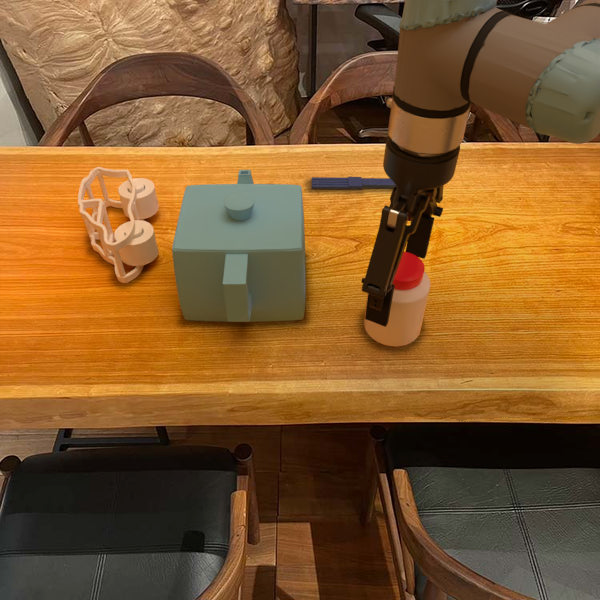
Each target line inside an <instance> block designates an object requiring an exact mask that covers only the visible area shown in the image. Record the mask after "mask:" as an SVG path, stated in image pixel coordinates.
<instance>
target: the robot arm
mask: <svg viewBox="0 0 600 600" xmlns="http://www.w3.org/2000/svg"><path fill="white" fill-rule="evenodd" d="M497 1H498V0H405V1H404V6H403V12H402V16H401V20H400V21H399V24H398V25H399V26H398V28H399V37H398V46H397V59H396V69H395V77H394V86H392V87H393V88H392V89H393V91H392V96H391V97H389V98H388V99H387V101H386V107H387V108H389V109H390V112H389V113H390V114H389V120H388V127H387V133H388V135H387V136H386V140H385V146H384V154H383V155H384V156H383V162H382V168H383V170H384V173H385V175H386V176H387V178H390V179H391V180H392V181H393V182H394V183H395V184H396V186H397V187H396V186H395V187H394V188H392V191H391V194H390V196H389V201H390V203H389V205H384V206H383V208H382V209H381V215H380V220H379V227H378V230H377V234H376V237H375V241H374V244H373V248H372V251H371V255H370V259H369V262H368V266H367V269H366V273H365V277H362V278H361V292H363V293H366V294H367V293H368V300H367V299H366V302H367V308H366V307H365V310H366V315H365V314H364V319H366V320H369V321H372V322H374V323H377V324H379V325H382V326H384V327H386V326H387V324H388V320H389V315H390V309H391V303H392V298H393V292H394V286H395V285H394V284H392V283H393V280H394V278H395V275H396V272H397V269H398V266H399V264H400V261H401V258H402V255H403V252H408V253H411V254H414V255H416V256H417V257H419V258H420V259H421V260H422V259H423V260H425V259H426V257H427V254H428V250H429V249H428V248H429V244H430V240H431V236H432V231H433V227H434V222H435V217H438V218H440V217H442V214H443V211H444V207H441V206H438V204H441V202H442V201H443V199H444V186H445V185H447V184H448V183H450V182H451V180H452V179H453V177H454V176H455V173H456V169H457V164H458V160H459V155H460V152H461V145H462V143H463V141H464V138H465V134H466V133H465V132H466V128H467V124H468V120H469V115H470V111H471V106H472V105H475V106H477V107H480V108H483V109H485V110H487V111H489V112H491V113H493V114H495V115H499V116H500V117H503V118H505V119H507V120H510V121H512V122H514V123H515V124H516V123H517V124H519V125H521V126H523V127H526V128H527V129H529V130H532V131H533V132H534V133H536V134H538V135H539V134H540V135H541V136H542V135H545V136H548V137H549V136H550V137H553V138H556V139H559V140H562V141H565V142H568V143H571V144H576V145H583V144H586V143H588V142H590V141H592V140H593V139H595V138H596V137H598V135H600V0H584V1H582V2H581V3H579V4H578V5H575V6H574V7H572V8H570V9H569V10H567V11H566V12H564V13H562V14H560V15H558V16H557V17H555V18H553V19H552V20H550V21H548V22H547V23H544V22H539V21H536V20H533V19H532V20H531V19H528V18H524V17H521V16H518V15H515V14H513V13H511V12H508V11H505V10H502V9H500V8H498V7H497V5H498V4H497ZM471 104H472V105H471ZM408 222H410V225H409V224H408ZM407 224H408V225H407Z"/></svg>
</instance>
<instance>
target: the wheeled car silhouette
mask: <svg viewBox="0 0 600 600" xmlns="http://www.w3.org/2000/svg"><path fill="white" fill-rule="evenodd" d="M104 177H108V178H115V179H121V178H122V179H123V178H127V180H125V181H123V182H122V183H121V184H120V185H119V187H118V189H117V192H118V195H119V200H117V199H116V200H115V199H112V198H110V197H109V192H108V190H107V186H106V183H105V180H104V179H105V178H104ZM95 178H97V180H98V183H99V186H100V191H101V194H102V197H103V199H102V198H95V197H94V192H93V189H92V187H91V184H92V183H94V181H95ZM85 194H87V197H88V199H85ZM77 205H78V208H79V210H78V211H79V214H80V217H81V218H82V220H83V222H84V225H85V228H86V231H87V235H88V237H89V239H90V244H91V247H92V249H93V251H95V252H97V253H98V254H99V255H100V256H101V258H102V259H103V260H104V261H105V262H107V263H108V264H111V265H113V266H114V273H115V276H116V279H117V281H118V282H119V283H121V284H128V283H130V282H131V281H133V280H134V279H136V278H137V277H138V276H139V275H140V274H141V273H142V271H143V269H144V266H145V265H147V264H149V263H152V262H153V261H154V260H155V259H157V257H158V255H159V252H160V251H159V247H158V243H157V238H156V234H155V229H154V226H153V224H151V223H150V222H149V221H146V219H148V218H151V217H153V216H154V215H156V214H157V212H159V208H160V205H159V201H158V196H157V192H156V186H155V183H154V181H152V180H150V179H149V178H145V177H135V178H133V177H132V174H131V172H130V170H129V169H113V168H105V167H102V166H96V167H94V168H92V169H91V170H90V171H89V173H88V175H87V176H85V177H83V178H82V179H81V182H80V185H79V190H78V194H77ZM109 207H113V208H115V209H121V210H122V211H123V214H124V215H125V216H126V218H129V220H130V221H126V222H124V223H122V224H120V225H119V226H118V227H117V228H116V229H115V231H114V232H113V229H112V225H111V221H110V219H109V215H108V211H107V208H109ZM90 208H91V210H92V214H91V215H90V213H89V212H87V209H90ZM103 223H104V224H103ZM97 241H100V244H101V246H100V245H99V244H98V243H97ZM123 263H124V264H125V265H127V266H131V267H134V269H132V270H131V271H129V272H127V273H126V270H125V268H124V264H123Z"/></svg>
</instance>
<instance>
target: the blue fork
mask: <svg viewBox="0 0 600 600" xmlns="http://www.w3.org/2000/svg"><path fill="white" fill-rule="evenodd" d="M310 183H311V184H310V185H311V190H356V191H357V190H359V191H360V190H363V189H393V188H394V187H395V186H396V184H395V183H394V182H393V181H392V180H391V179H390V178H389V177H377V178H376V177H362V176H347V177H330V176H329V177H322V176H321V177H319V176H317V177H314V176H311V182H310ZM396 187H397V186H396Z"/></svg>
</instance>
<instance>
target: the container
mask: <svg viewBox="0 0 600 600" xmlns="http://www.w3.org/2000/svg"><path fill="white" fill-rule="evenodd" d="M302 189H303V188H302V185H300V184H287V183H284V184H283V183H254V179H253V175H252V170H251V169H239V170H238V174H237V183H213V184H209V183H207V184H190V185H186V186H185V188H184V193H183V197H182V202H181V206H180V210H179V214H178V219H177V223H176V228H175V232H174V237H173V242H172V247H171V252H172V263H173V270H174V278H175V285H176V290H177V296H178V303H179V306H180V310H181V313H182V315H183V318H184V320H185V321H190V322H191V321H192V322H216V323H217V322H220V323H221V322H222V323H224V322H225V323H257V322H258V323H259V322H260V323H263V322H292V321H302V320H304V317H305V311H306V288H307V287H306V285H307V283H306V280H307V279H306V275H307V273H306V269H307V268H306V237H305V235H306V233H305V213H304V201H303V200H304V199H303V190H302Z"/></svg>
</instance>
